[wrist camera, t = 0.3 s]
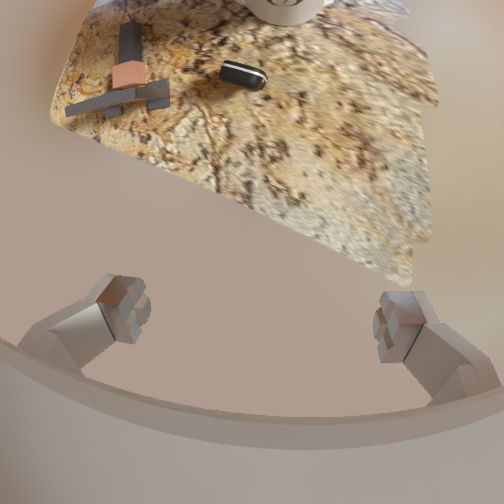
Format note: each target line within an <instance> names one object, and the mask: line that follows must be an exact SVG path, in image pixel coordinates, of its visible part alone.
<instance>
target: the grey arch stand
mask: <svg viewBox="0 0 504 504" xmlns="http://www.w3.org/2000/svg"><path fill="white" fill-rule="evenodd" d="M135 101H148V110H150V109H157V108H163V107H170V95H169V79H164V80H159V81H153V82H148V83H147V87H132V88H127V89H123V90H122V89H118V90H115V91H111V92H107V93H104V94H103V95H101V96H98V97H95V98H91V99H88V100H85V101H82V102H79V103H76V104H73V105H70V106H68V107H65V112H66V117H70V116H75V115H80V114H85V113H90V112H96V111H102V110H104V113H105V118H110V117H114V116H119V115H123V103H128V102H135Z"/></svg>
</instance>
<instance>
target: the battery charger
mask: <svg viewBox="0 0 504 504" xmlns="http://www.w3.org/2000/svg"><path fill="white" fill-rule="evenodd" d="M219 79H220V80H221V81H222V82H224V83H226V84H229V85H232V86H236V87H239V88H243V89H246V90H249V91H253V92H256V91H259V90H261V89H263V88H264V86H265V84H266V82H267V79H268V77H267V76H266V74H265V72H264V71H262V70H260V69H257V68H254V67H251V66H248V65H244V64H241V63H237V62H233V61H229V60H225V61H224V62H223V63H222V67H221V70H220V72H219Z"/></svg>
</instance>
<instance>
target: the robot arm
mask: <svg viewBox="0 0 504 504" xmlns="http://www.w3.org/2000/svg"><path fill="white" fill-rule="evenodd" d="M235 1H236V2H237V3H239V4H241V5H243V6H246V7H247V8H248V9H249V10H250V11H251V12H252V13H253V14H254V15H255V16H257V17H258V18H259V19H261V20H263V21H265V22H267V23H270V24H274V25H280V26H293V25H298V24H302V23H305V22H307V21H309V20H310V19H312V18H313V17H314V16H315V15H316V14H317V13H318V12H319V11H320V10H321V9H322V8H325V7H327V6H329V5H331V4H332V3H333V2H334V0H235ZM145 289H146V286H145V284H144V280H142V279H141V278H136V277H129V276H121V275H112V274H107V275H104V276H103V277H102V278H101V280H100V281H99V282H98V283H97V284H96V285H95V287H94V288H93V289H92V290H91V291H90V293H89V294H88V295H87V296H86V298H85V299H84V300H79V301H77V302H75V303H73V304H71V305H69V306H67V307H65V308H63V309H61V310H59V311H58V312H56V313H54V314H52V315H50V316H48V317H46V318H44V319H43V320H41V321H39V322H37V323H35V324H33V326H32V327H31V328H30V329H29V331H28V332H27V333H26V335H25V336H24V337H23V338H22V340H21V341H20V343H19V344H18V345H17V346H15V345H14V344H12V343H10V342H8V341H6V340H5V339H3V338H1V337H0V504H504V386H502V385H501V383H500V381H499V378H498V376H497V373H496V371H495V369H494V367H493V364H492V363H491V360H490V358H489V357H487V356H486V355H485V354H484V353H482V352H481V351H480V350H479V349H477V348H476V347H475V346H474V345H472V344H471V343H470V342H468V341H467V340H466V339H465V338H463V337H462V336H461V335H459V334H458V333H457V332H456V331H454V330H453V329H451V328H450V327H449V326H448V325H446V324H445V323H440V321H439V319H438V317H437V315H436V313H435V311H434V309H433V307H432V305H431V303H430V302H429V299H428V297H427V296H426V294H425V293H424V292H423V291H410V292H383V294H382V295H381V298H380V305H381V307H380V308H379V309H378V310H377V311H376V313H375V316H374V320H373V332H374V337H375V339H377V340H378V341H379V342H380V343H379V345H378V348H377V349H378V353H379V357H380V361H381V363H398V362H403V364H404V365H405V366H406V368H407V369H408V370H409V371H410V372H411V373H412V374H413V376H414V377H415V378H416V379H417V380H418V381H419V383H420V384H421V385H422V386H423V387H424V389H425V390H426V391H427V392H428V393H429V394H430V396H431V397H432V398H433V399H432V400H431V401H430V402H429V403H428V404H427V405H426V406H425V407H423V408H417V409H411V410H405V411H398V412H390V413H382V414H372V415H360V416H344V417H282V416H264V415H253V414H242V413H234V412H225V411H218V410H211V409H204V408H199V407H193V406H188V405H182V404H178V403H173V402H168V401H164V400H159V399H156V398H152V397H147V396H144V395H140V394H136V393H132V392H129V391H126V390H122V389H119V388H116V387H113V386H110V385H107V384H104V383H101V382H98V381H95V380H92V379H89V378H87V377H86V376H85V375H84V374H83V373H82V371H81V370H80V369H81V368H82V367H84V366H85V365H86V364H87V363H89V362H90V361H91V360H93V359H94V358H95V357H96V356H98V355H99V354H100V353H102V352H103V351H104V350H105V349H107V348H108V347H109V346H111V345H112V344H113V343H114V342H115V341H119V342H124V343H130V344H135V343H136V341H137V339H138V337H139V335H140V334H141V332H142V330H141V326H142V325H143V324H145V323H146V322H147V321H148V319H149V317H150V311H151V303H150V300H149V297H148V296H147V295H146V294H145V293H144V290H145Z"/></svg>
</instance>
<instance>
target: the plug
mask: <svg viewBox="0 0 504 504" xmlns="http://www.w3.org/2000/svg"><path fill="white" fill-rule="evenodd" d="M112 78H113V88H129V87H133V86H137V85H142V84H145V62H141V24H140V23H138V22H135V21H131V22H128V23H125V24H122V25H120V46H119V64H118V65H115V66H112Z"/></svg>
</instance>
